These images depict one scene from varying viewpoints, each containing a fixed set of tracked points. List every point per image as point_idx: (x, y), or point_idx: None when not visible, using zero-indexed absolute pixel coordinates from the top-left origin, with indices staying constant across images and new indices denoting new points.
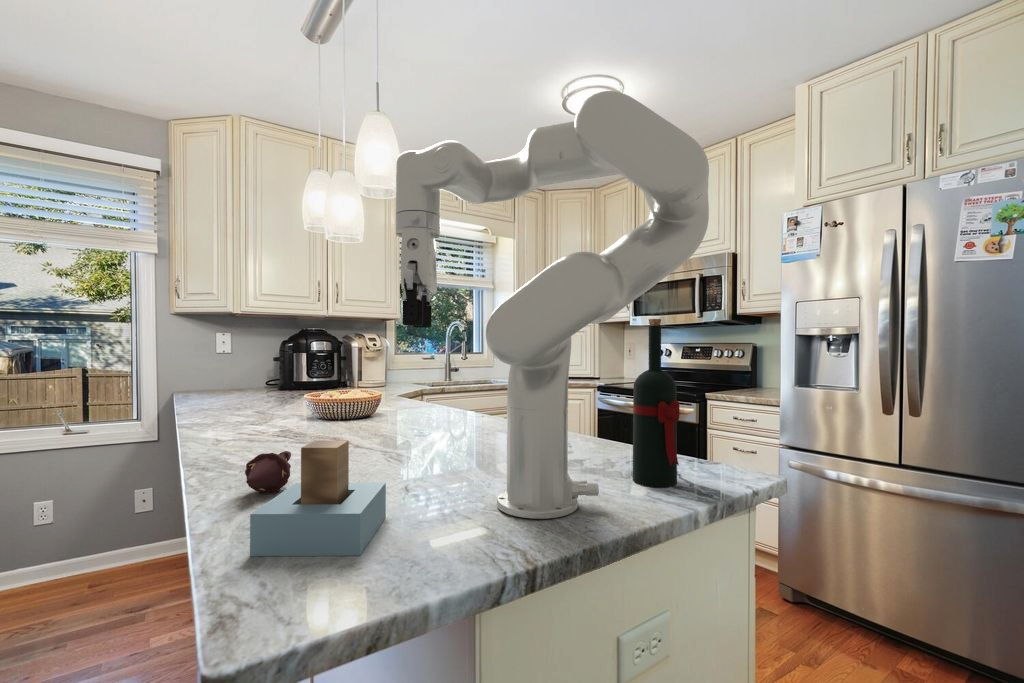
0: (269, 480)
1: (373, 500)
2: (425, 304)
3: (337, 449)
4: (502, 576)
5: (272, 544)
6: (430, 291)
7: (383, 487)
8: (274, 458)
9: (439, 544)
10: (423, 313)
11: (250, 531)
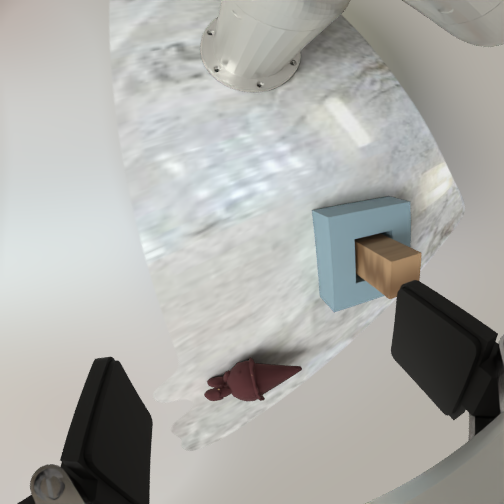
0: (271, 365)
1: (374, 207)
2: (102, 489)
3: (419, 252)
4: (401, 87)
5: None
6: (446, 458)
7: (336, 215)
8: (256, 385)
9: (366, 137)
10: (122, 444)
11: None
